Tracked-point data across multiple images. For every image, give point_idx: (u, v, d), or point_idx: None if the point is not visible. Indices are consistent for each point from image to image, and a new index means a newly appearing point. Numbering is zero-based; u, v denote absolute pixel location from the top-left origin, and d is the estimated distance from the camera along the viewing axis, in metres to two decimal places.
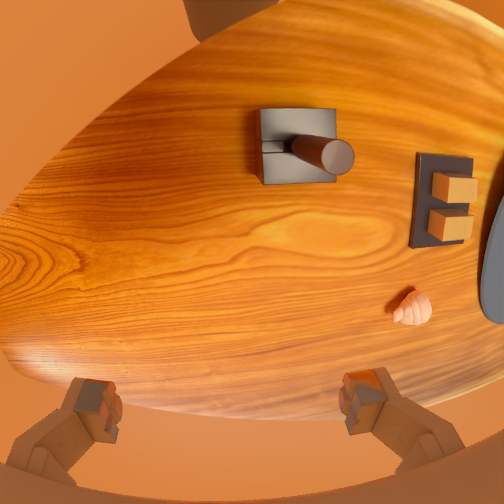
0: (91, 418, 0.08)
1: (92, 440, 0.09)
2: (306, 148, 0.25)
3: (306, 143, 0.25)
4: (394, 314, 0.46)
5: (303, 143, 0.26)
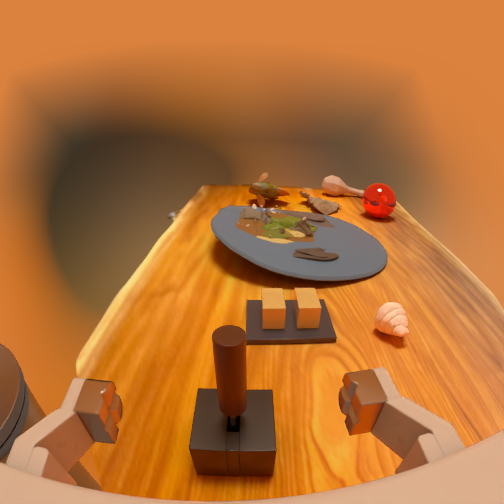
0: (91, 418, 0.08)
1: (92, 440, 0.09)
2: (226, 381, 0.25)
3: (222, 384, 0.25)
4: (401, 333, 0.45)
5: (223, 391, 0.25)
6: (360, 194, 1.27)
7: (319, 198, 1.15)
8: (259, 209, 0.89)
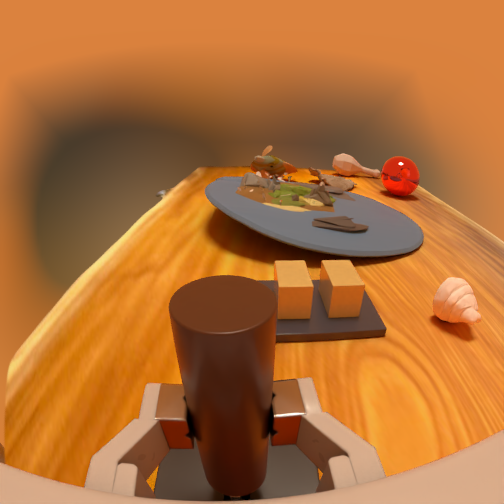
0: (175, 425, 0.08)
1: (168, 448, 0.09)
2: (216, 435, 0.08)
3: (206, 440, 0.09)
4: (473, 319, 0.28)
5: (210, 454, 0.09)
6: (375, 174, 1.11)
7: (331, 175, 0.98)
8: None
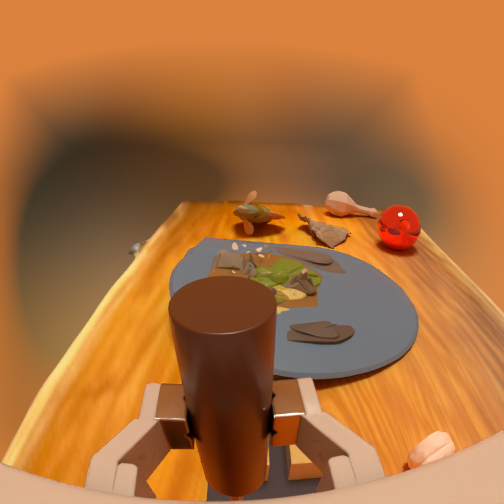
0: (175, 425, 0.08)
1: (168, 448, 0.09)
2: (216, 436, 0.08)
3: (206, 441, 0.08)
4: None
5: (210, 454, 0.09)
6: (372, 214, 1.03)
7: (322, 222, 0.91)
8: (242, 248, 0.66)
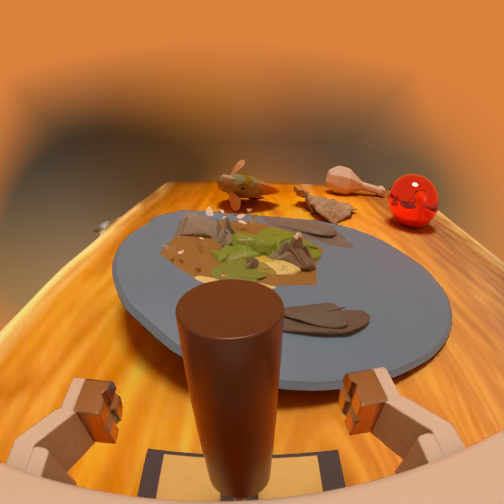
0: (91, 418, 0.08)
1: (92, 440, 0.09)
2: (222, 438, 0.08)
3: (211, 443, 0.08)
4: None
5: (215, 457, 0.09)
6: (379, 192, 0.89)
7: (323, 197, 0.77)
8: (221, 216, 0.52)
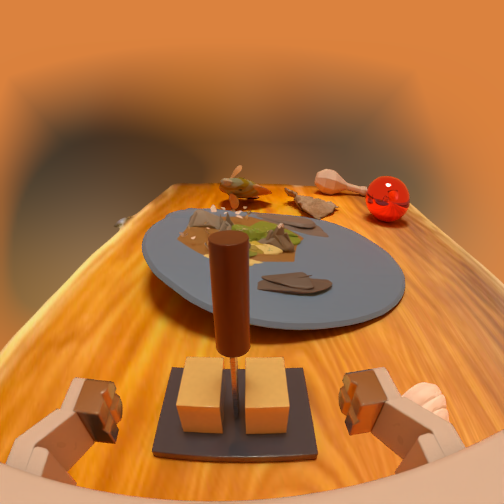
0: (91, 418, 0.08)
1: (92, 440, 0.09)
2: (224, 300, 0.21)
3: (219, 306, 0.21)
4: None
5: (221, 317, 0.22)
6: (362, 192, 1.02)
7: (310, 197, 0.90)
8: (222, 213, 0.64)
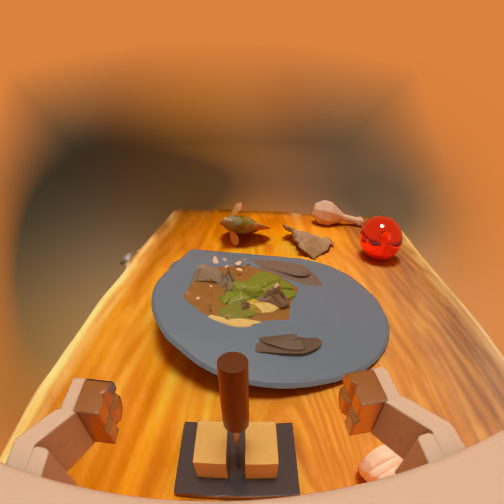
0: (91, 418, 0.08)
1: (92, 440, 0.09)
2: (230, 402, 0.26)
3: (226, 405, 0.26)
4: None
5: (227, 410, 0.27)
6: (358, 222, 1.07)
7: (307, 233, 0.95)
8: (223, 261, 0.69)
